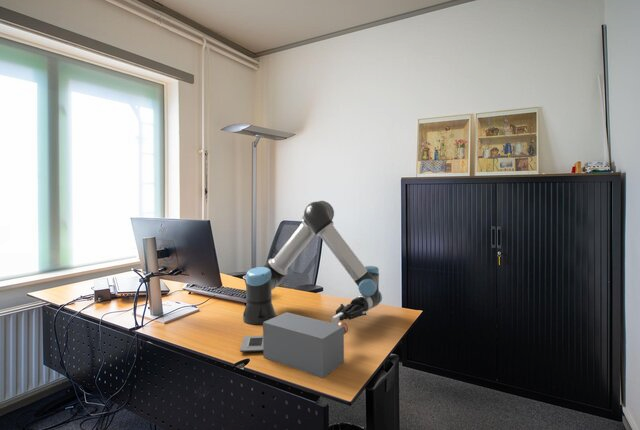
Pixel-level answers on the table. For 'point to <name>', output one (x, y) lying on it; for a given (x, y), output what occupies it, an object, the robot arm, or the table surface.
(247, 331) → the table surface
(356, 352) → the table surface
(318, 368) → the housing
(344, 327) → the plug terracotta
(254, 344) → the electrical outlet
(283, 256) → the robot arm
